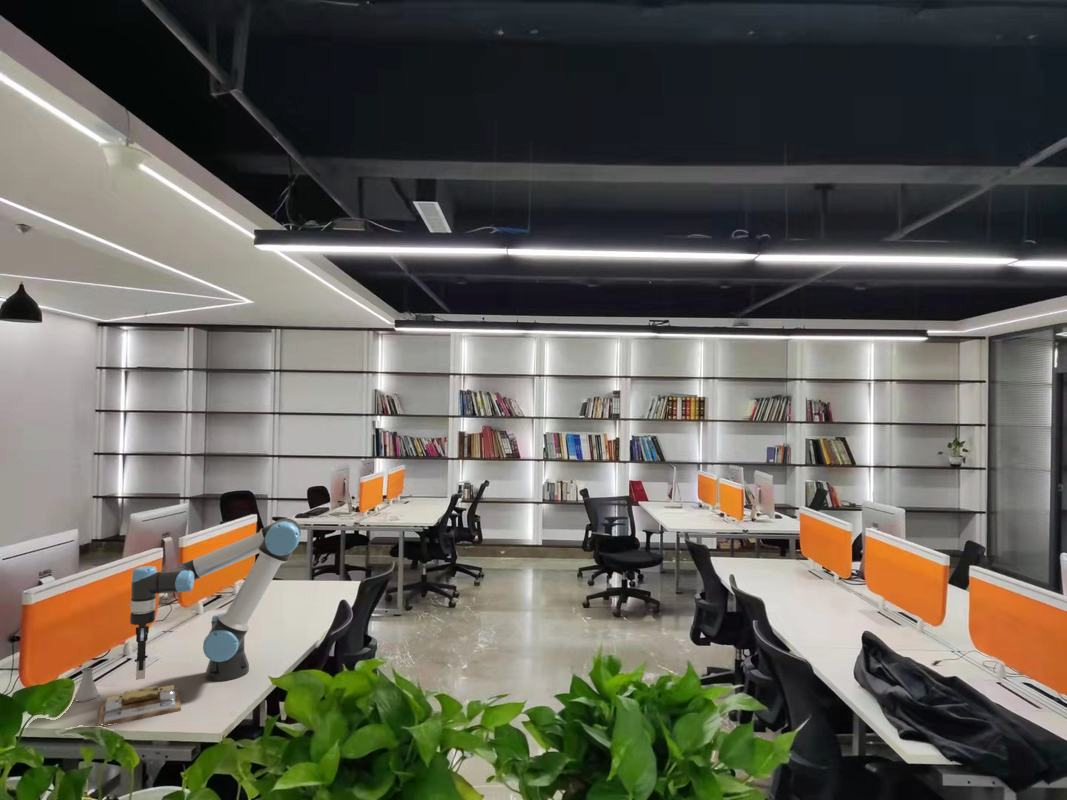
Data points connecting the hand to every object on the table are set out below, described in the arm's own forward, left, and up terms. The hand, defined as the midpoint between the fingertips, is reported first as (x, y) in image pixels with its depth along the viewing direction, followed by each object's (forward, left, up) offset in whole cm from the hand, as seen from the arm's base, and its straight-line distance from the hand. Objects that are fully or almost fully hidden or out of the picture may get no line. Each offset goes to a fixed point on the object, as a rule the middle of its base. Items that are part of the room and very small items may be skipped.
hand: (140, 678), depth 226 cm
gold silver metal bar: (0, +6, -5) cm, 8 cm away
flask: (+16, -9, -7) cm, 20 cm away
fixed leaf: (0, +16, -5) cm, 17 cm away
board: (0, +11, -6) cm, 13 cm away
